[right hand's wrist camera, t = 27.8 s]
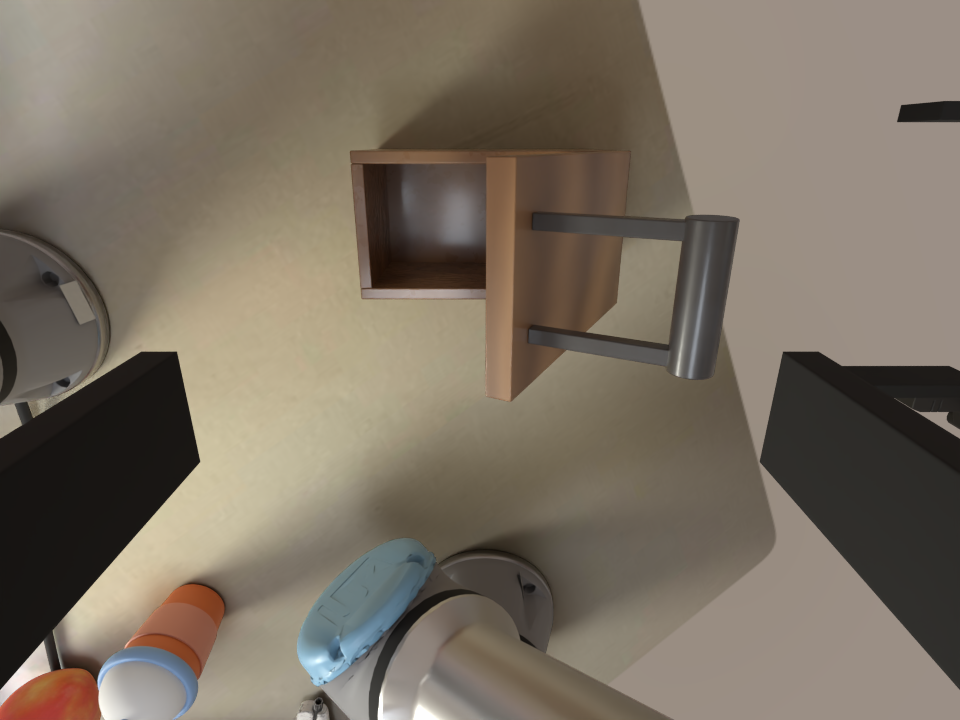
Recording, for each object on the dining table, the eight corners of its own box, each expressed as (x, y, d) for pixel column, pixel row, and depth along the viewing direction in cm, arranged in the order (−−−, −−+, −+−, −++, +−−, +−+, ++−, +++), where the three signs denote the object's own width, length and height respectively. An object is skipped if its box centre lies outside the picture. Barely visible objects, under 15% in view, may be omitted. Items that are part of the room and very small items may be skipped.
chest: (384, 269, 49) (361, 299, 40) (376, 149, 45) (349, 150, 36) (581, 269, 49) (605, 299, 40) (590, 149, 45) (618, 150, 36)
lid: (484, 396, 24) (699, 443, 21) (485, 155, 21) (746, 159, 17) (599, 301, 39) (736, 318, 35) (611, 150, 36) (765, 151, 32)
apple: (37, 695, 68) (-34, 782, 59) (40, 639, 65) (-34, 723, 55) (117, 712, 69) (61, 801, 60) (125, 658, 66) (66, 744, 56)
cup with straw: (226, 569, 61) (129, 731, 44) (247, 631, 64) (165, 804, 47) (145, 576, 61) (19, 739, 44) (170, 637, 64) (62, 811, 48)
